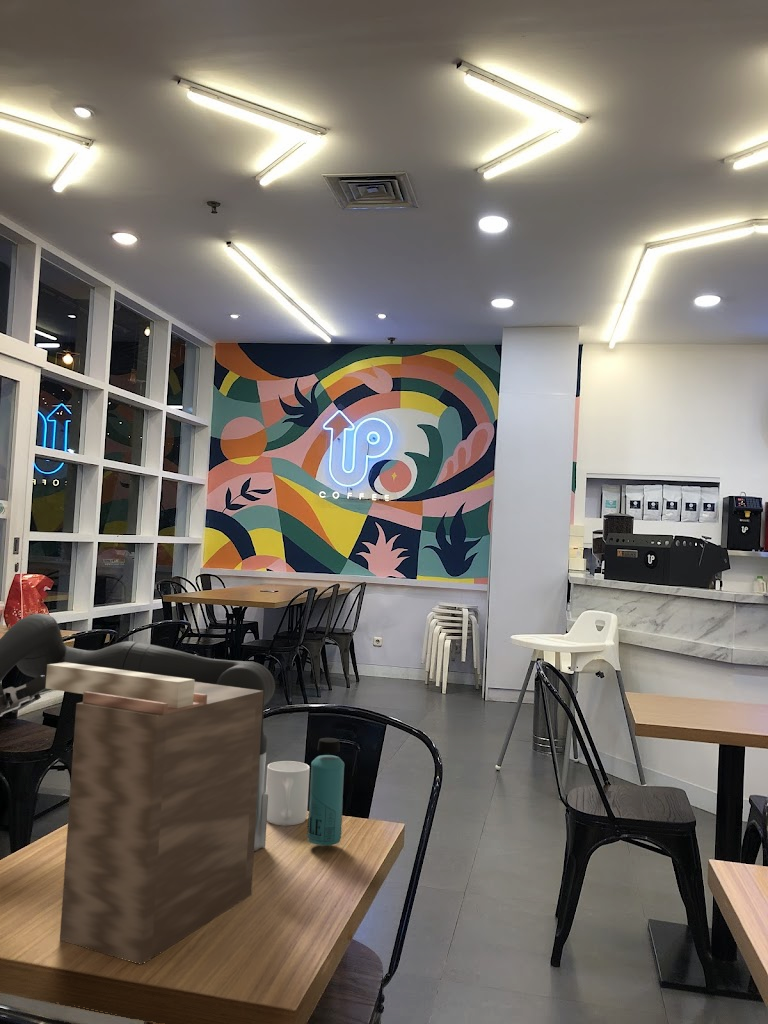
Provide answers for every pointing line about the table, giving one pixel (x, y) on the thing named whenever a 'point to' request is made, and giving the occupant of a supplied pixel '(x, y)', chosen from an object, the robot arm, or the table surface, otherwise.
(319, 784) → the beverage bottle
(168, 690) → the cream long bar
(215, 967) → the table surface
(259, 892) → the table surface
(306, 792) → the mug
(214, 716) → the brown wooden box
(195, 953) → the table surface
